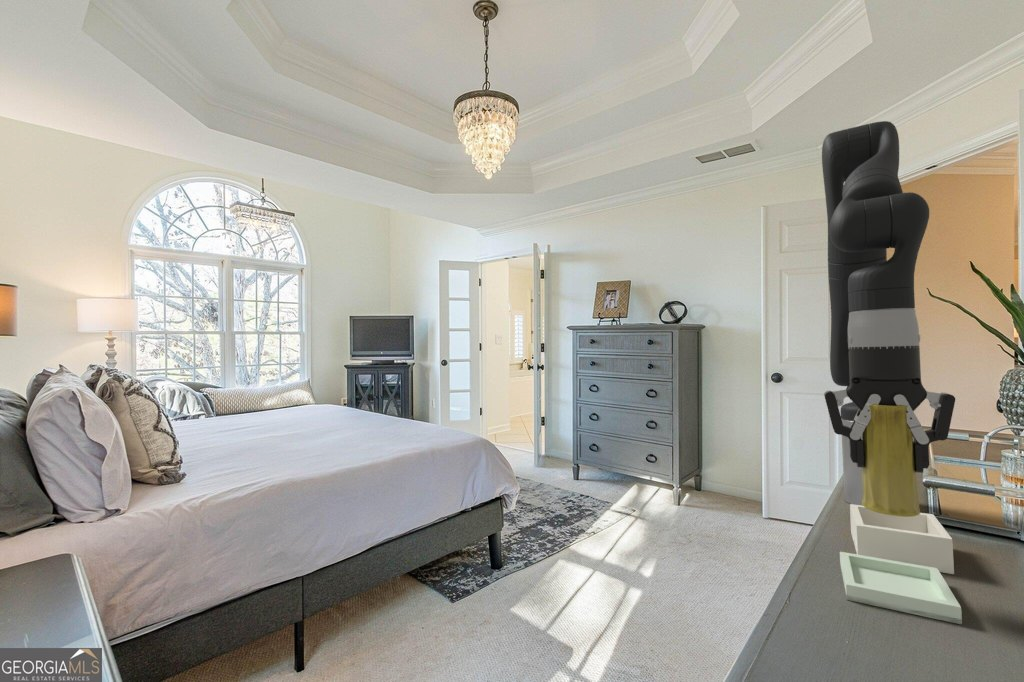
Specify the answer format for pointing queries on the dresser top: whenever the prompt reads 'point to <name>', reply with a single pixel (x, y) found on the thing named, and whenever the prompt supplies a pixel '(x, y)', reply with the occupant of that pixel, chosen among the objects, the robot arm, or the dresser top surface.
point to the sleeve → (902, 538)
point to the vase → (889, 463)
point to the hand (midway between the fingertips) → (888, 468)
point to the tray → (899, 587)
